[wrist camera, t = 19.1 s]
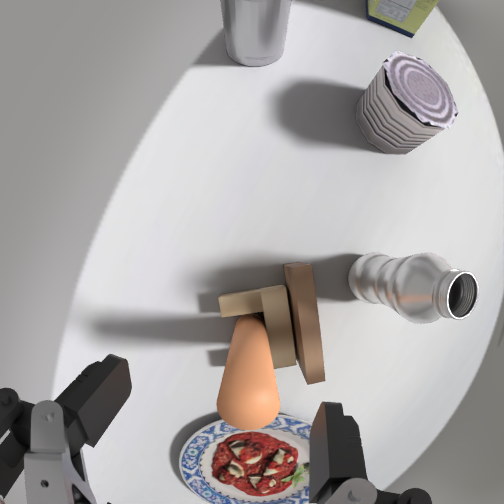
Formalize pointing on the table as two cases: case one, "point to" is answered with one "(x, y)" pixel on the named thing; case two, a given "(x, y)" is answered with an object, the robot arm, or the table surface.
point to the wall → (305, 320)
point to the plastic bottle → (414, 286)
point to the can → (404, 105)
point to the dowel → (249, 378)
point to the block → (266, 318)
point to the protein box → (400, 13)
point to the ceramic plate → (249, 463)
